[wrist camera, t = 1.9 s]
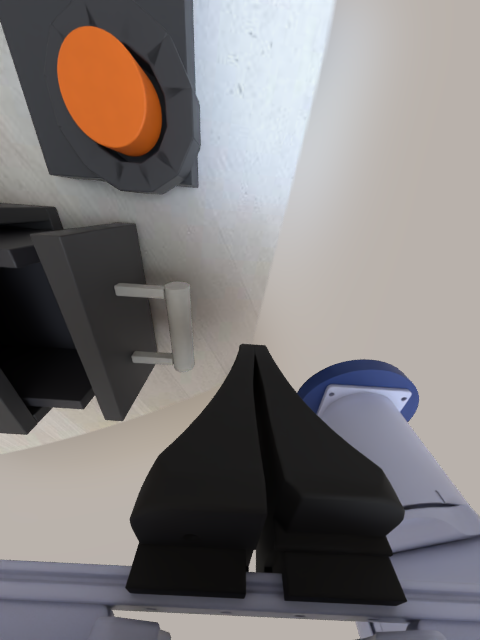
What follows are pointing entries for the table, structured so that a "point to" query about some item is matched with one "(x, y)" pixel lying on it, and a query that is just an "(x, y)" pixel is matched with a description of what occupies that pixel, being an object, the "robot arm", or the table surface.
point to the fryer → (3, 401)
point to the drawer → (84, 317)
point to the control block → (152, 56)
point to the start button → (108, 92)
